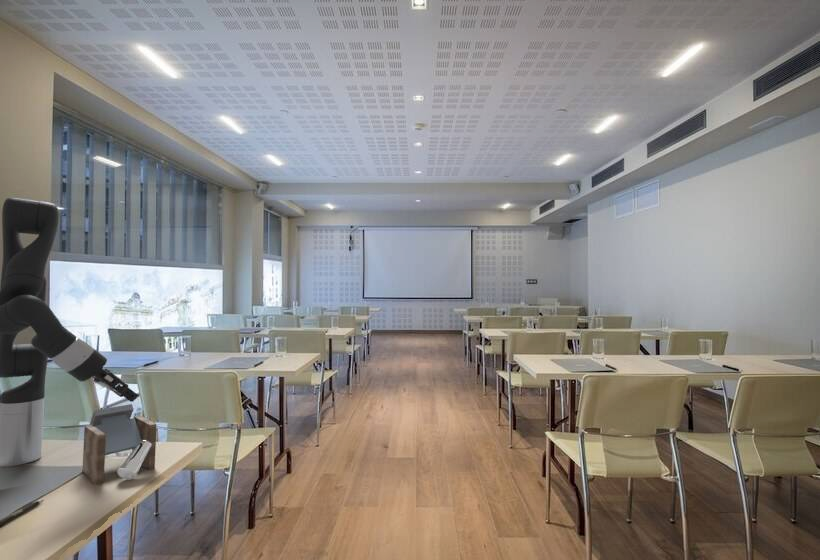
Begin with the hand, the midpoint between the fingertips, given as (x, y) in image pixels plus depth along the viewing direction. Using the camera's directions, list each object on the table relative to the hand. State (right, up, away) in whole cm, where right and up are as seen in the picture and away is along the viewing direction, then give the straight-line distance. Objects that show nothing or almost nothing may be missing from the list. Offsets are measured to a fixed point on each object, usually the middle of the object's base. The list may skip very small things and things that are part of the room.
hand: (129, 396), depth 110 cm
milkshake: (+6, -12, -2) cm, 14 cm away
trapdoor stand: (-2, -20, -1) cm, 20 cm away
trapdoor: (-6, -13, +3) cm, 15 cm away
